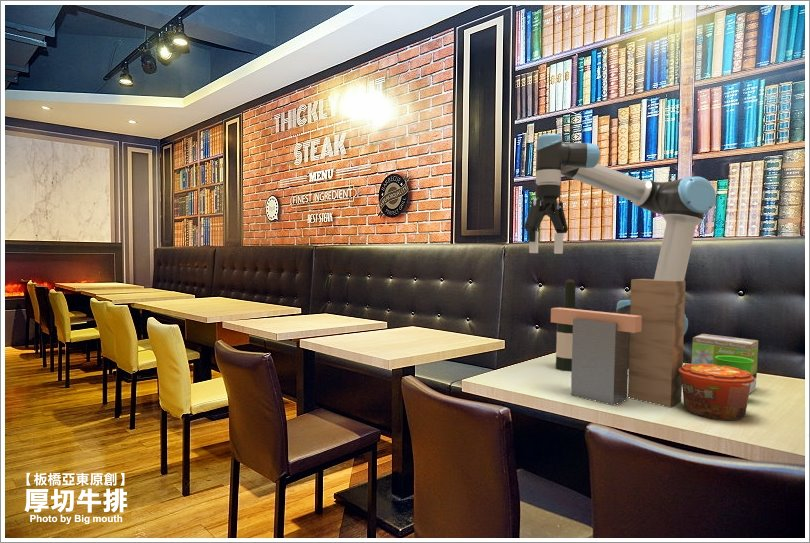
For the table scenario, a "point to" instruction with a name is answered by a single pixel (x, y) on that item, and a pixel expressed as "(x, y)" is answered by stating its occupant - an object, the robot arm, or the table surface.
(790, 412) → the table surface
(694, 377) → the food container
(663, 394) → the post
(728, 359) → the cup
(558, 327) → the wine bottle
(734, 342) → the tea box
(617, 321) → the bar
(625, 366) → the block
